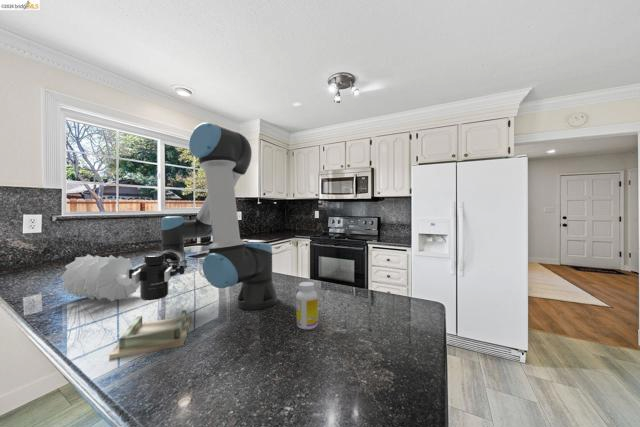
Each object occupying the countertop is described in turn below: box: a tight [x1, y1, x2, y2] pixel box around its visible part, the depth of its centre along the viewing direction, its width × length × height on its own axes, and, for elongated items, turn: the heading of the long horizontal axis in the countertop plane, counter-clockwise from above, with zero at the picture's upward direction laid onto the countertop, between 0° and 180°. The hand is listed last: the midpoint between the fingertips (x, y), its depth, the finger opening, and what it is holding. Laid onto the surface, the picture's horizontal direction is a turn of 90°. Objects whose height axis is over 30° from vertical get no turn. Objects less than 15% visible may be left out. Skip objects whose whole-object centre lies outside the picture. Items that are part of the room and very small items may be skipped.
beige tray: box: [108, 309, 192, 360], centre depth 73 cm, size 18×16×4 cm
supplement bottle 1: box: [139, 253, 170, 301], centre depth 73 cm, size 7×7×12 cm
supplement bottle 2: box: [295, 281, 319, 330], centre depth 79 cm, size 7×7×13 cm
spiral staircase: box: [60, 253, 140, 302], centre depth 105 cm, size 18×18×25 cm
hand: (150, 278), depth 68 cm, fingers closed on supplement bottle 1, 7 cm apart
